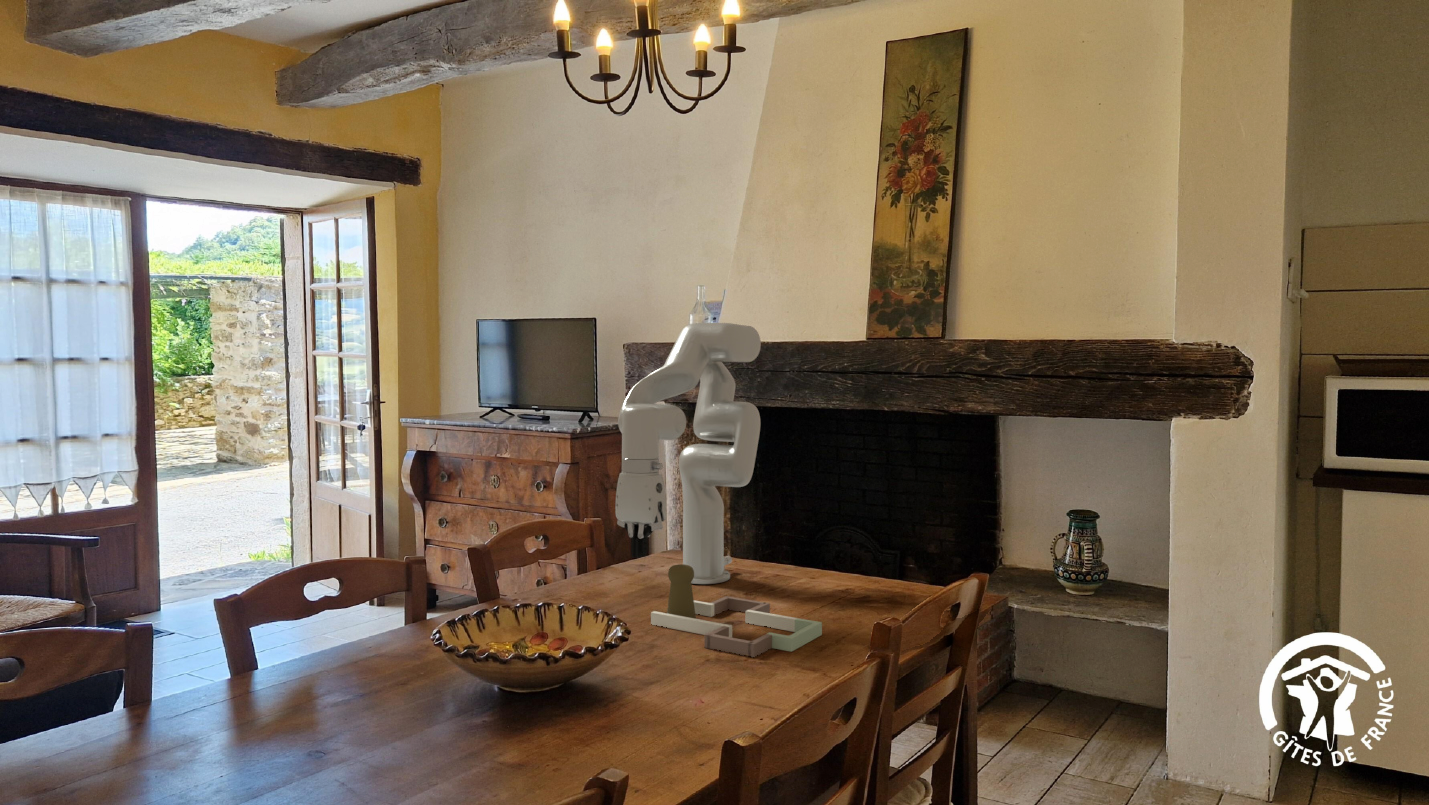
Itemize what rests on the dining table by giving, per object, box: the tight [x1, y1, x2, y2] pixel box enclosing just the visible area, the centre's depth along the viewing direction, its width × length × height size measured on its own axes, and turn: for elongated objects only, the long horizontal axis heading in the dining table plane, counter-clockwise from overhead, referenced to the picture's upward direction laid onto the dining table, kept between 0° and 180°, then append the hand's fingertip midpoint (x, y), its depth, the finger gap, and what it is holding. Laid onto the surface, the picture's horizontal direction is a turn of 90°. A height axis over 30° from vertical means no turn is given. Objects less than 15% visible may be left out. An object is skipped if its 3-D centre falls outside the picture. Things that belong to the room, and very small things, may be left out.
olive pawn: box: [666, 563, 697, 619], centre depth 197 cm, size 6×6×11 cm
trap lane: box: [650, 595, 823, 658], centre depth 190 cm, size 25×31×2 cm
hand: (639, 556), depth 201 cm, fingers closed
